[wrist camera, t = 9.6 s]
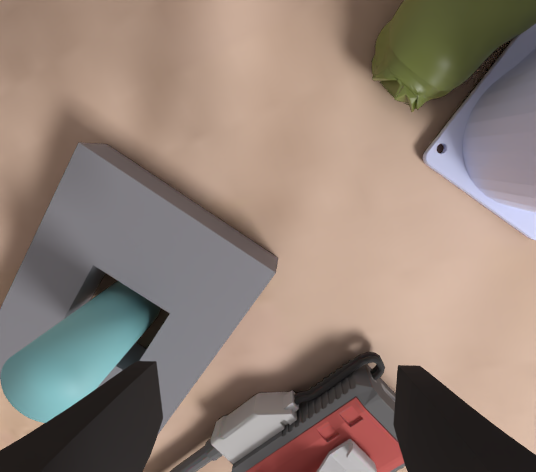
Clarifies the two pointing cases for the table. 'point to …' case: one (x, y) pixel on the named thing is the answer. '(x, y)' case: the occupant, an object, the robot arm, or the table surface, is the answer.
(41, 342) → the peg
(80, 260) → the socket board
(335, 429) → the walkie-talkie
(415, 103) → the pear
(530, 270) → the table surface
